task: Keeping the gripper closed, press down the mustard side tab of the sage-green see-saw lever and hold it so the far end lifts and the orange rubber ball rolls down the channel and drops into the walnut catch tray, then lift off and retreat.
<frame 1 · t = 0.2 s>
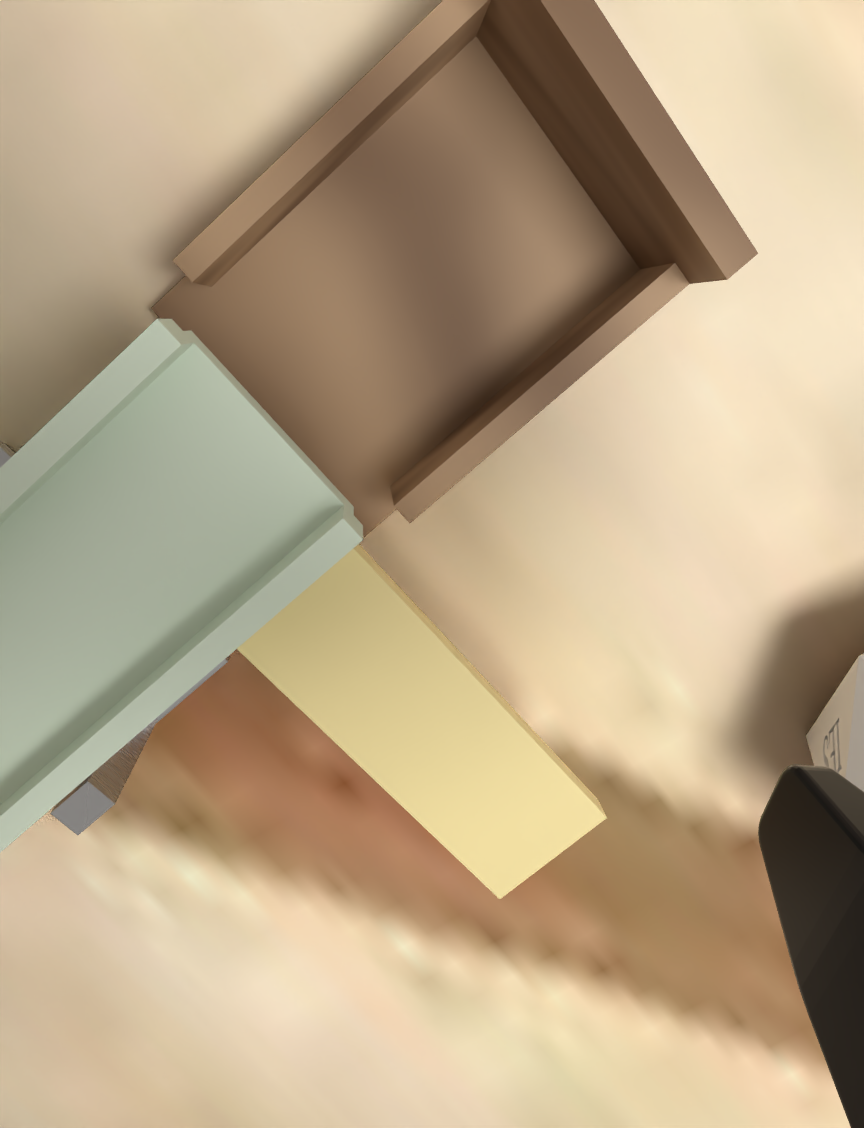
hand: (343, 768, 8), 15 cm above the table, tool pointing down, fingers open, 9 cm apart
catch tray: (418, 288, 21), on the table
fulcrum: (61, 611, 23), on the table
lever: (135, 838, 19), point 6 cm above the table, hinge at 0.0°, touching ball
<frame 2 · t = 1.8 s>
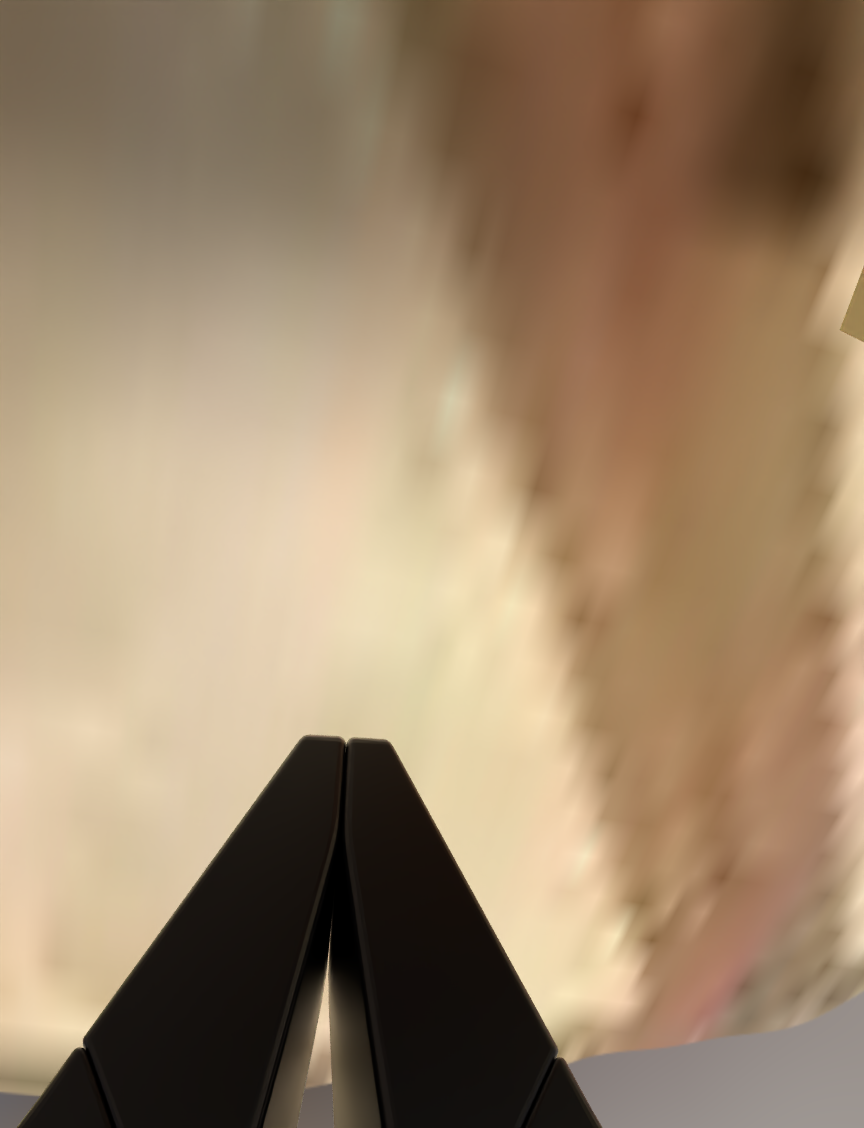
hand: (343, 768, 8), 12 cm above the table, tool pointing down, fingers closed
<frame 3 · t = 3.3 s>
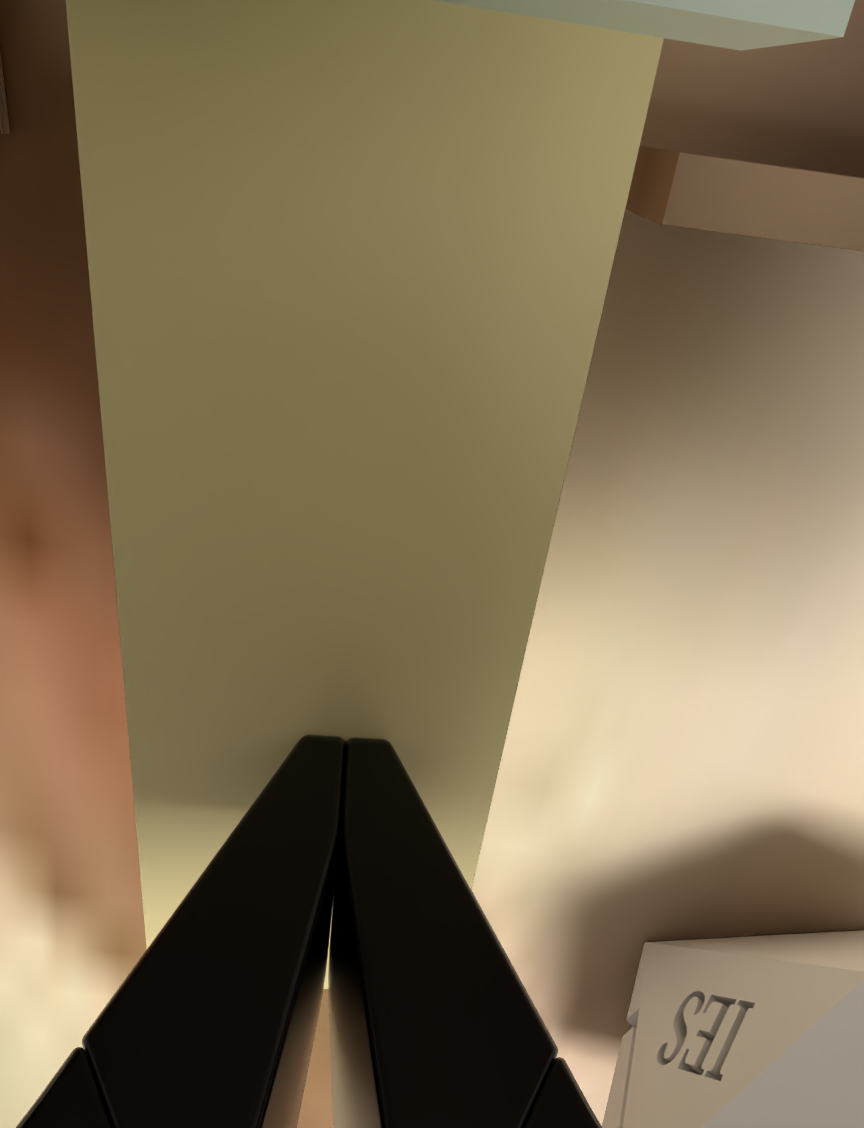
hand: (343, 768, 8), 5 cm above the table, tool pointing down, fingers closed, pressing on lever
die: (743, 968, 19), on the table
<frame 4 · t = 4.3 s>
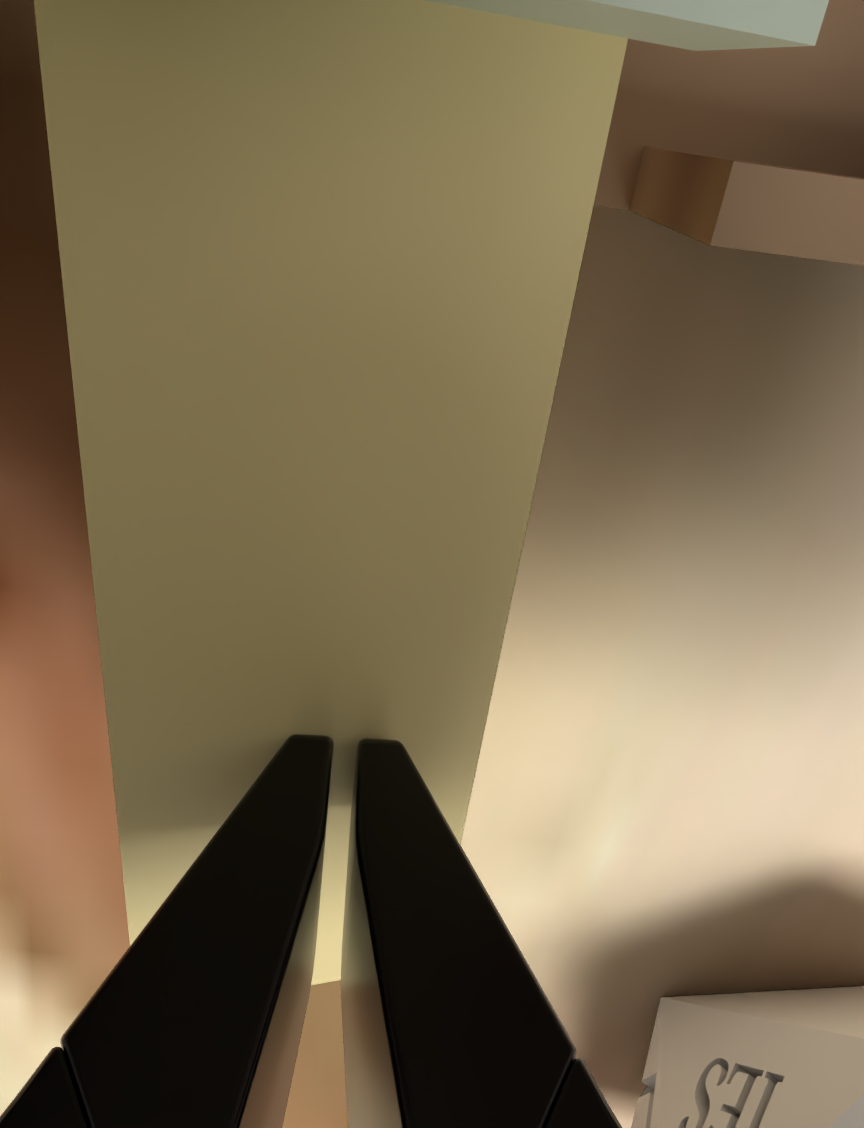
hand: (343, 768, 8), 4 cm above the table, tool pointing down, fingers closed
die: (765, 1022, 18), on the table
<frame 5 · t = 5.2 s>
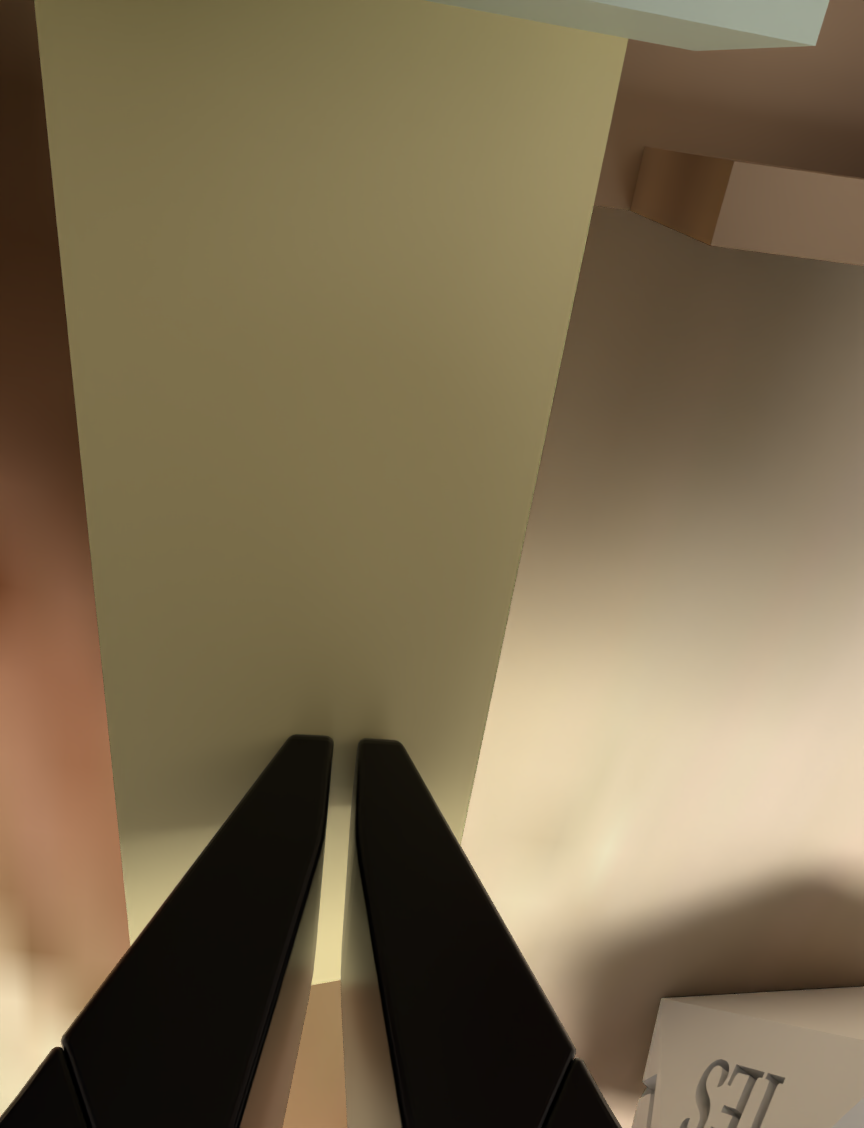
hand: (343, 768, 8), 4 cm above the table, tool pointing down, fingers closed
die: (765, 1022, 18), on the table
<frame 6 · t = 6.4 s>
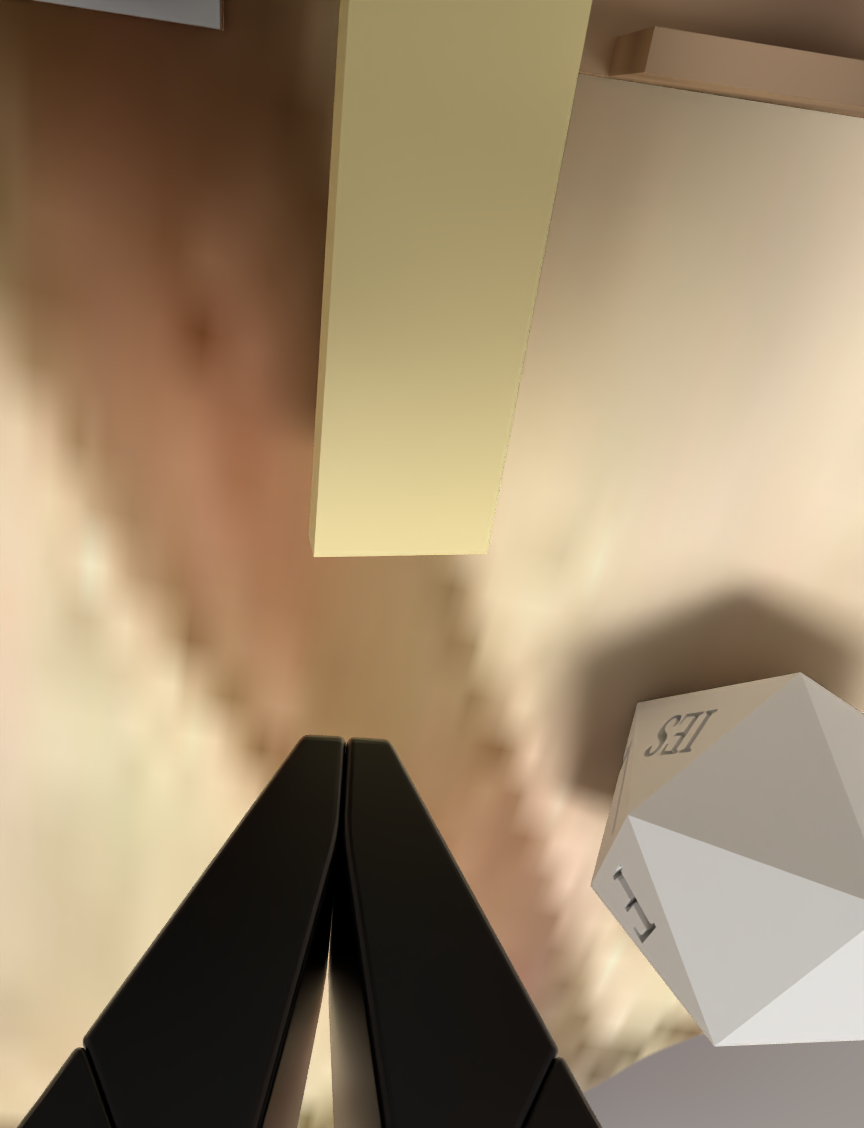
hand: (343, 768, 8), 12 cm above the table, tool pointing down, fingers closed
die: (716, 734, 24), on the table
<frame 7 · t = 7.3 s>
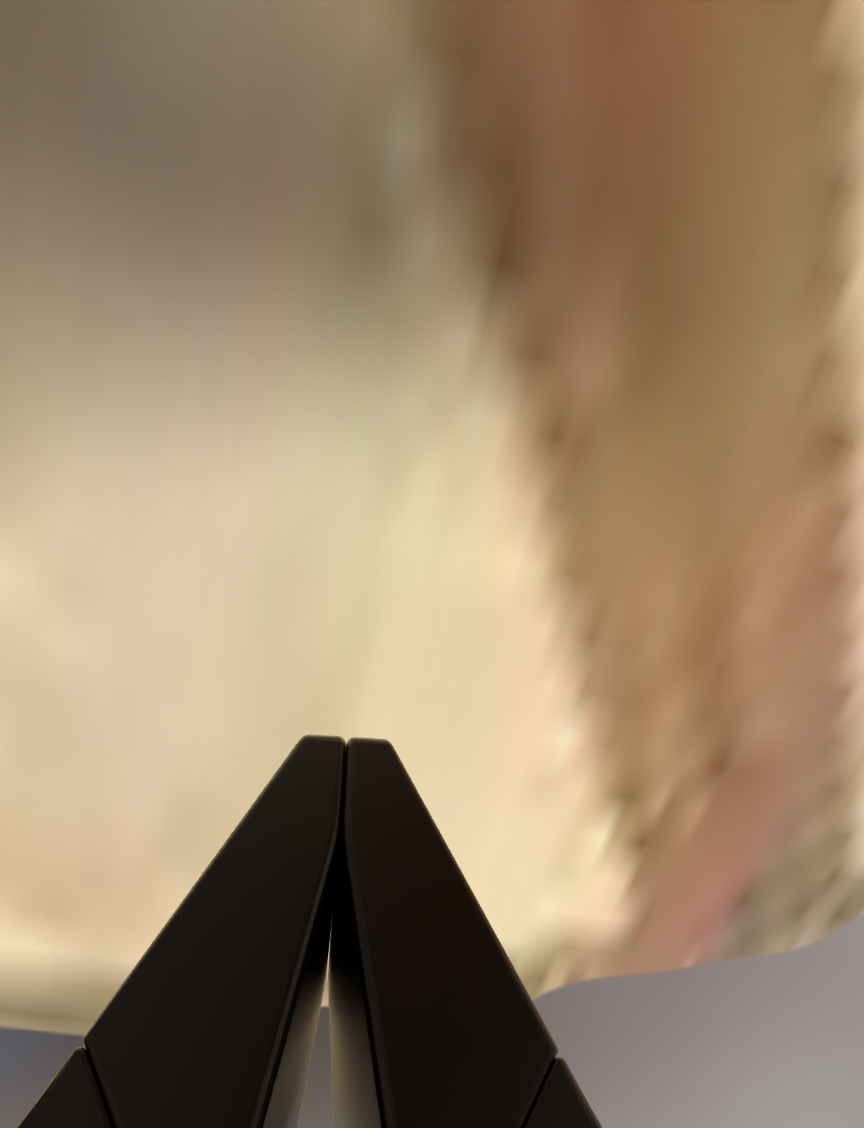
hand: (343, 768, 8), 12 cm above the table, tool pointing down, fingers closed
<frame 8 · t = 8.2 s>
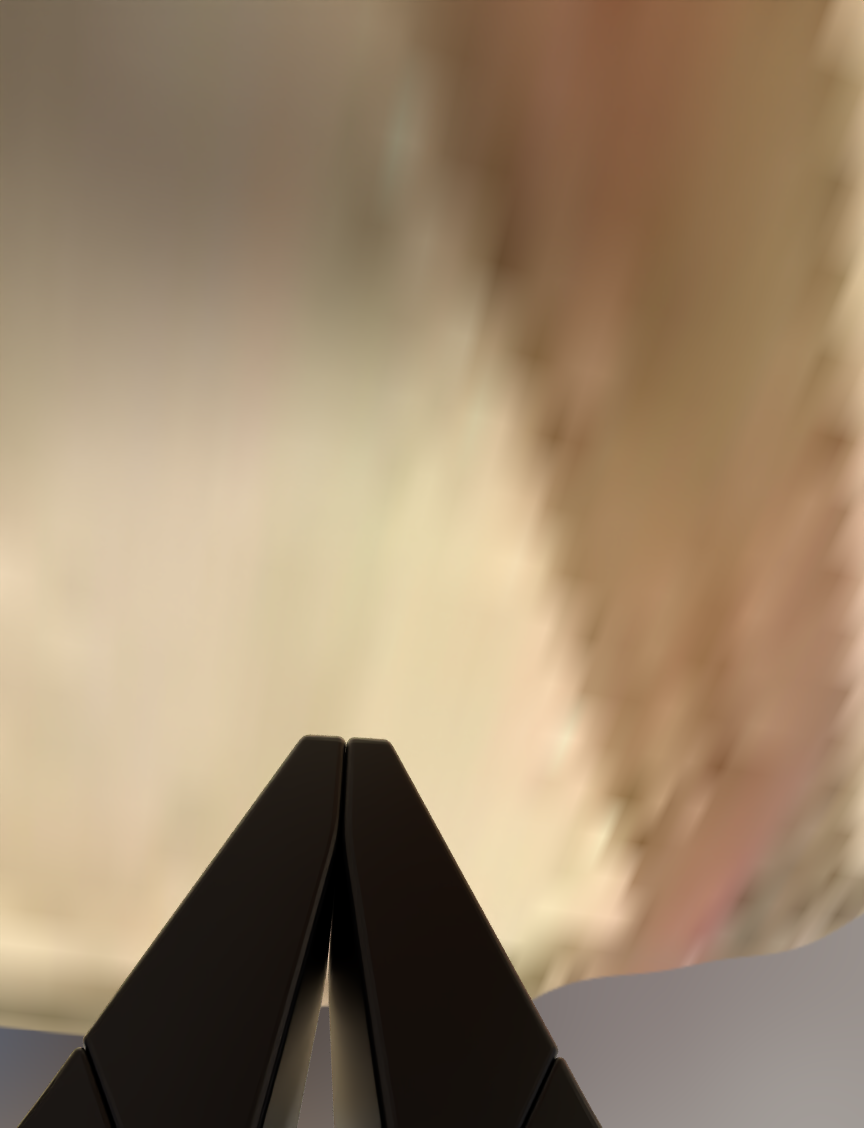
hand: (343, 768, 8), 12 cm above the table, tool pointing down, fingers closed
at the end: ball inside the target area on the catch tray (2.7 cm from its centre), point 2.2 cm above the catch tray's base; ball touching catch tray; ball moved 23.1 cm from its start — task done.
